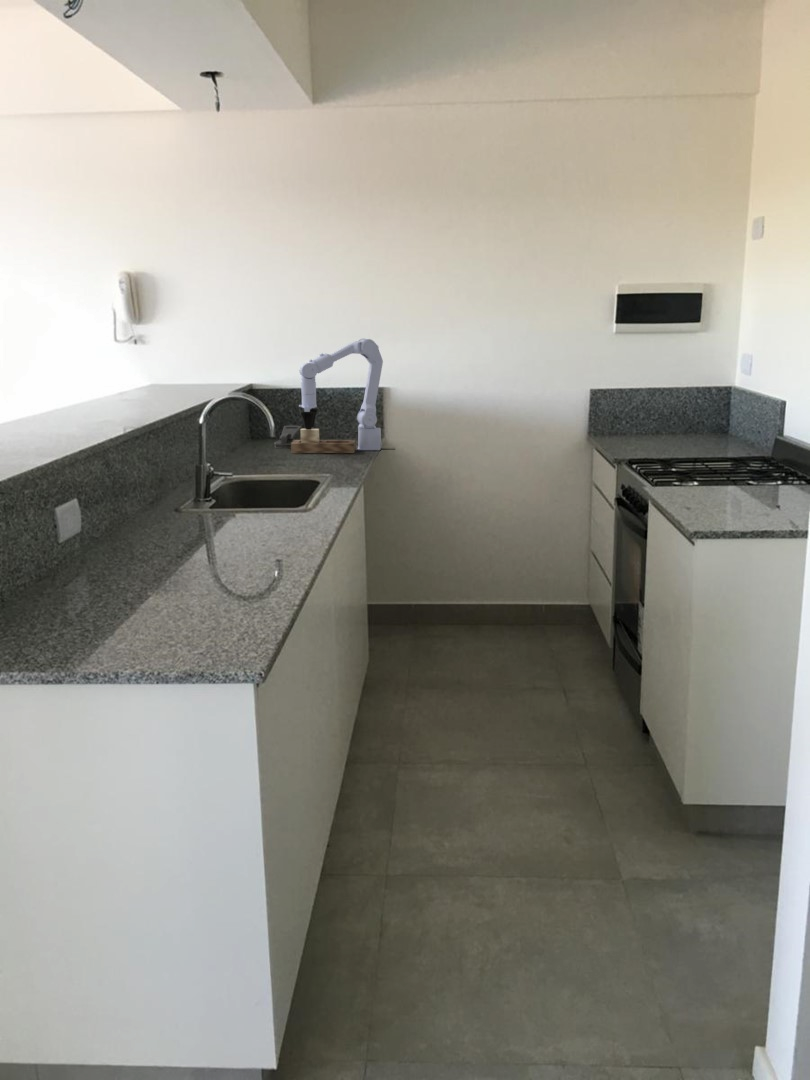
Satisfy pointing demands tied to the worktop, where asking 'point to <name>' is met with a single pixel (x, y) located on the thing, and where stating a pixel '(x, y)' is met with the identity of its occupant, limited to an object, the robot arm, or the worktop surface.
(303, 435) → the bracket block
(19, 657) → the worktop surface
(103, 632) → the worktop surface
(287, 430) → the dark grey angled stand
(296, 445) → the wooden compartment tray
